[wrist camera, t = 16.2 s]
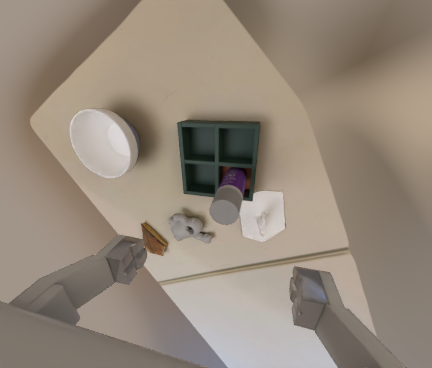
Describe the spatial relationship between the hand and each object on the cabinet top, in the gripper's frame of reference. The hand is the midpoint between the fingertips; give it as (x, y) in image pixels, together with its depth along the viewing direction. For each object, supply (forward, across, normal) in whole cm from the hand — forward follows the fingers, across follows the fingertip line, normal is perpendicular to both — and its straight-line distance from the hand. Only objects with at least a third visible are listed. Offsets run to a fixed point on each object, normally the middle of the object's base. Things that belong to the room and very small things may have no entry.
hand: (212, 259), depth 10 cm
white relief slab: (+31, -4, +18) cm, 36 cm away
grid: (+31, +6, +4) cm, 32 cm away
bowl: (+31, +30, +1) cm, 43 cm away
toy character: (+31, +14, +24) cm, 42 cm away
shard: (+31, +28, +32) cm, 53 cm away
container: (+31, +2, +8) cm, 32 cm away
